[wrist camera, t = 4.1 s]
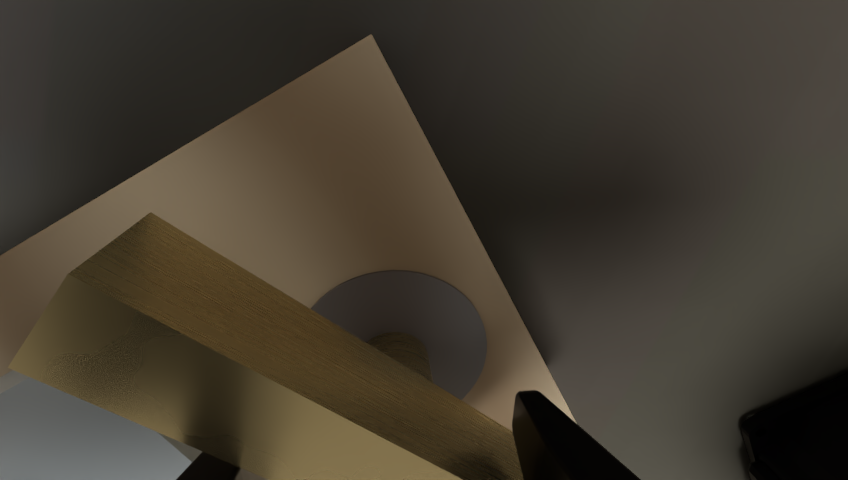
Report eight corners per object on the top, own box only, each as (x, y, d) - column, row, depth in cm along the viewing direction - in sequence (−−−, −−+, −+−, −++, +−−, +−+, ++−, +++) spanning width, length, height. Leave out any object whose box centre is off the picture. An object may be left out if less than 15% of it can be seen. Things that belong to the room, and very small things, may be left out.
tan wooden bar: (509, 397, 11) (561, 531, 8) (464, 437, 11) (499, 579, 8) (183, 188, 8) (68, 274, 5) (138, 252, 8) (8, 368, 5)
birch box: (371, 38, 11) (371, 33, 7) (546, 369, 15) (593, 455, 12) (-125, 333, 12) (-308, 439, 9) (175, 548, 17) (128, 668, 14)
